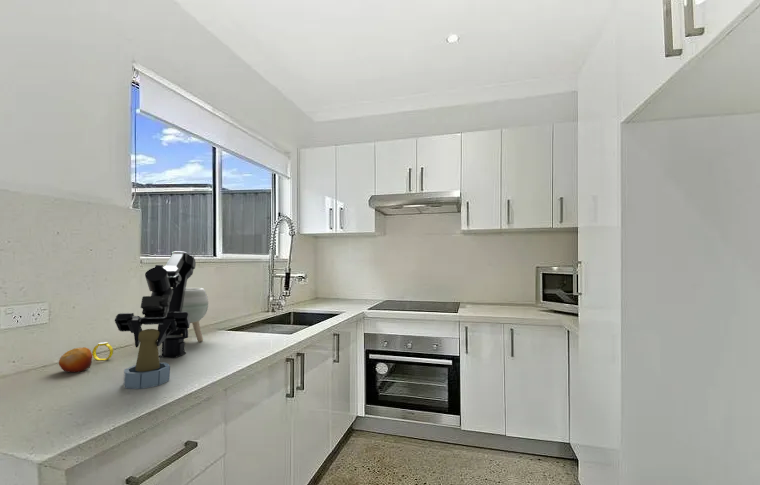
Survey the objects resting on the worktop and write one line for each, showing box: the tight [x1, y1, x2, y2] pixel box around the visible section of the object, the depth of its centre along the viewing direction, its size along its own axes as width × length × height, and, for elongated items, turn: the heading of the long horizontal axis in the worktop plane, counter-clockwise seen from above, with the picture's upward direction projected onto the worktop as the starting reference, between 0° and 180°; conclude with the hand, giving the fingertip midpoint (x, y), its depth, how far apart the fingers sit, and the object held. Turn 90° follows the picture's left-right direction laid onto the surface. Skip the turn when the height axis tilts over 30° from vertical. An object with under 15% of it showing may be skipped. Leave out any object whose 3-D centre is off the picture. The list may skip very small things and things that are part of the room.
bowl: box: [122, 362, 171, 390], centre depth 103 cm, size 11×11×4 cm
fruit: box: [58, 346, 93, 373], centre depth 113 cm, size 8×8×8 cm
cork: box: [135, 328, 161, 372], centre depth 103 cm, size 6×6×11 cm
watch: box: [91, 341, 114, 361], centre depth 124 cm, size 6×3×6 cm, turn 95°
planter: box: [181, 287, 209, 343], centre depth 151 cm, size 16×16×22 cm
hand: (147, 346), depth 102 cm, fingers closed on cork, 5 cm apart
